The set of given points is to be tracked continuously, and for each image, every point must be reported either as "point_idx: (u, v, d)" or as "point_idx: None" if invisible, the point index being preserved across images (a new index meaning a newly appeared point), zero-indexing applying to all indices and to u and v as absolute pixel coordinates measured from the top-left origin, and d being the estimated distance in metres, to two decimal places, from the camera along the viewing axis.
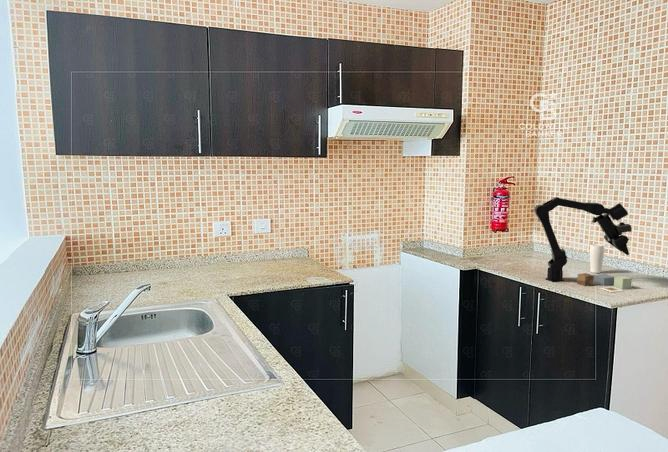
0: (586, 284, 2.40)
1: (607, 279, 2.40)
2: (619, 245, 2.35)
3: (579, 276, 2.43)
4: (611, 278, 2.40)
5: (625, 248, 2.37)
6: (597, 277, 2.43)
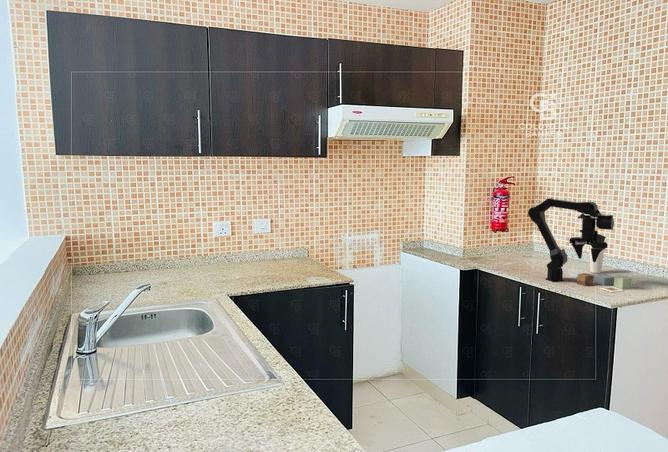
0: (586, 284, 2.40)
1: (607, 279, 2.40)
2: (597, 249, 2.32)
3: (579, 276, 2.43)
4: (611, 278, 2.40)
5: (597, 255, 2.35)
6: (597, 277, 2.43)
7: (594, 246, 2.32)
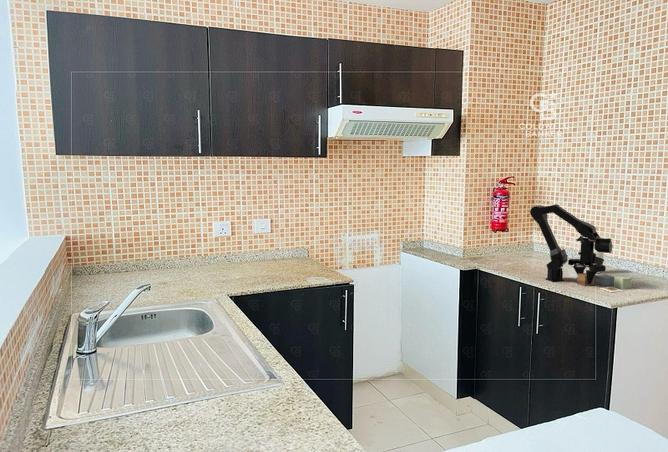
0: (586, 284, 2.40)
1: (608, 279, 2.40)
2: (592, 271, 2.35)
3: (579, 276, 2.43)
4: (611, 278, 2.40)
5: (592, 276, 2.38)
6: (597, 277, 2.43)
7: (592, 269, 2.33)
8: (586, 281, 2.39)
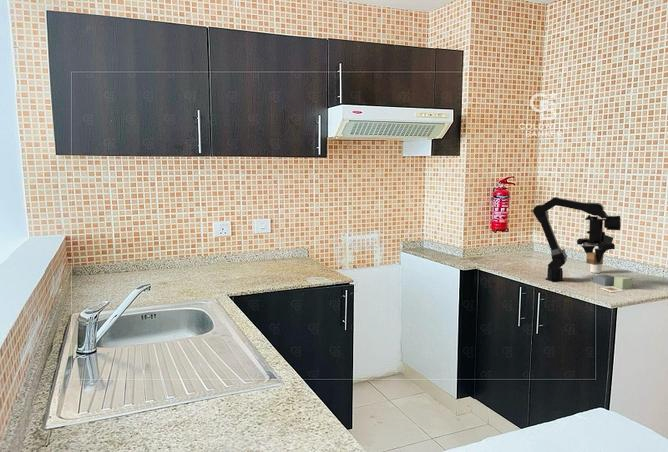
0: (595, 262, 2.38)
1: (608, 279, 2.40)
2: (601, 249, 2.34)
3: (588, 255, 2.42)
4: (611, 278, 2.41)
5: (601, 255, 2.37)
6: (598, 277, 2.43)
7: (601, 247, 2.32)
8: (595, 260, 2.38)
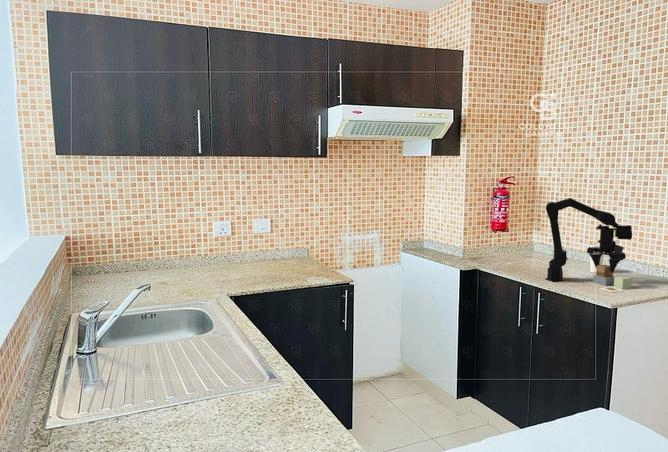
0: (605, 275, 2.41)
1: (608, 279, 2.40)
2: (616, 259, 2.34)
3: (598, 267, 2.44)
4: (612, 278, 2.41)
5: (615, 265, 2.37)
6: (598, 277, 2.43)
7: (612, 257, 2.34)
8: (605, 272, 2.40)
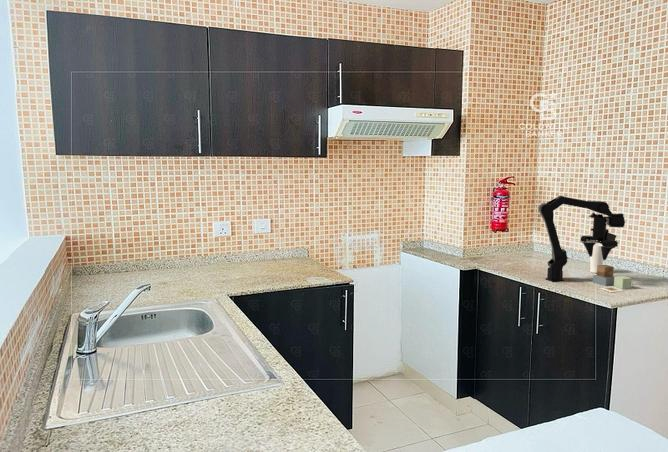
0: (605, 275, 2.40)
1: (608, 279, 2.40)
2: (608, 247, 2.37)
3: (598, 267, 2.43)
4: (612, 278, 2.41)
5: (607, 253, 2.40)
6: (598, 277, 2.43)
7: (604, 244, 2.37)
8: (605, 272, 2.40)
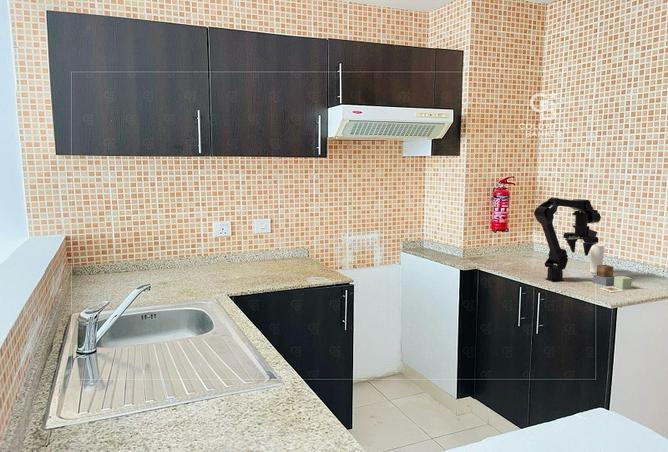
0: (605, 275, 2.41)
1: (608, 279, 2.40)
2: (589, 243, 2.47)
3: (598, 267, 2.44)
4: (612, 278, 2.41)
5: (588, 249, 2.50)
6: (598, 277, 2.43)
7: (586, 240, 2.47)
8: (605, 272, 2.41)
